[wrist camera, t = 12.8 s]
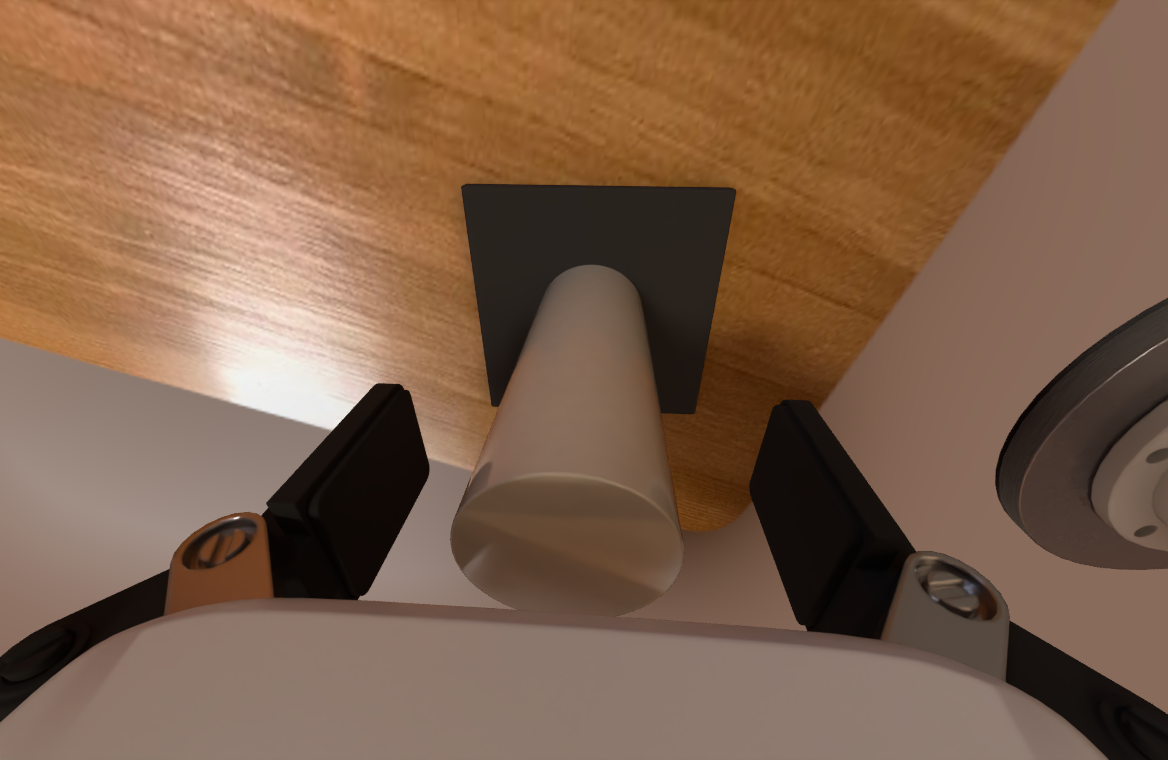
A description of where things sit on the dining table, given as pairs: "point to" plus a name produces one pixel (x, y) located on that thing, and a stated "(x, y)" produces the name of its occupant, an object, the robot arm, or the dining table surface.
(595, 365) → the cylinder
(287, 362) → the dining table surface
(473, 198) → the mat
